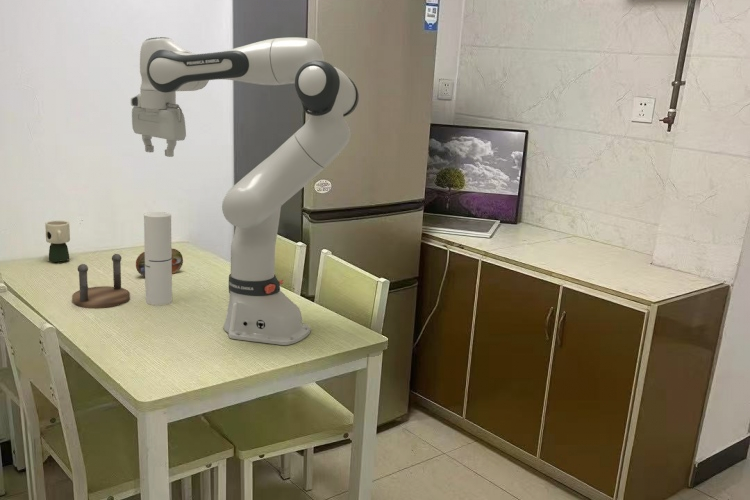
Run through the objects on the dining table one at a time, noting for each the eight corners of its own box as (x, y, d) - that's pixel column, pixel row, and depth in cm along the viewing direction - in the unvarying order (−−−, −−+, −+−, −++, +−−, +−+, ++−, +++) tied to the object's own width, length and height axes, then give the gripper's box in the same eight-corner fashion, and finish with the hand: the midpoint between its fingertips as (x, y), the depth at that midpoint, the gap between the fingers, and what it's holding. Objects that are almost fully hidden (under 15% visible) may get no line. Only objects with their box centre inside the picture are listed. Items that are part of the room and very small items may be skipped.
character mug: (45, 257, 230) (43, 219, 227) (68, 256, 233) (67, 218, 230) (49, 266, 221) (46, 226, 217) (73, 264, 224) (71, 225, 221)
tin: (139, 279, 213) (138, 253, 211) (134, 277, 216) (134, 251, 214) (183, 272, 224) (183, 247, 222) (178, 270, 226) (178, 245, 224)
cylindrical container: (164, 306, 191) (163, 218, 185) (140, 303, 192) (138, 215, 186) (176, 298, 198) (175, 213, 192) (153, 295, 199) (152, 210, 193)
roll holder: (141, 296, 198) (141, 256, 195) (103, 312, 184) (101, 269, 181) (100, 288, 203) (98, 249, 200) (59, 302, 189) (57, 261, 186)
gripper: (191, 104, 177) (192, 158, 181) (148, 99, 190) (149, 149, 193) (170, 104, 172) (171, 159, 176) (126, 98, 185) (128, 150, 189)
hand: (159, 154), depth 185 cm, fingers open, 8 cm apart
